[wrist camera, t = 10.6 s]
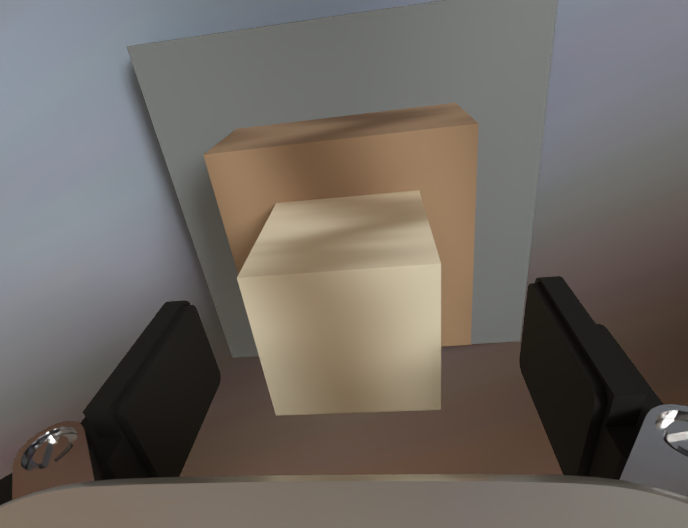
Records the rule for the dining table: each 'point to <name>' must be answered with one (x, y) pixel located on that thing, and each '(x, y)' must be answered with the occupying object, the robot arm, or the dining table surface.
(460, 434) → the dining table surface
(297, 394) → the maple cube
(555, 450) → the robot arm
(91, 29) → the dining table surface
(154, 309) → the dining table surface
